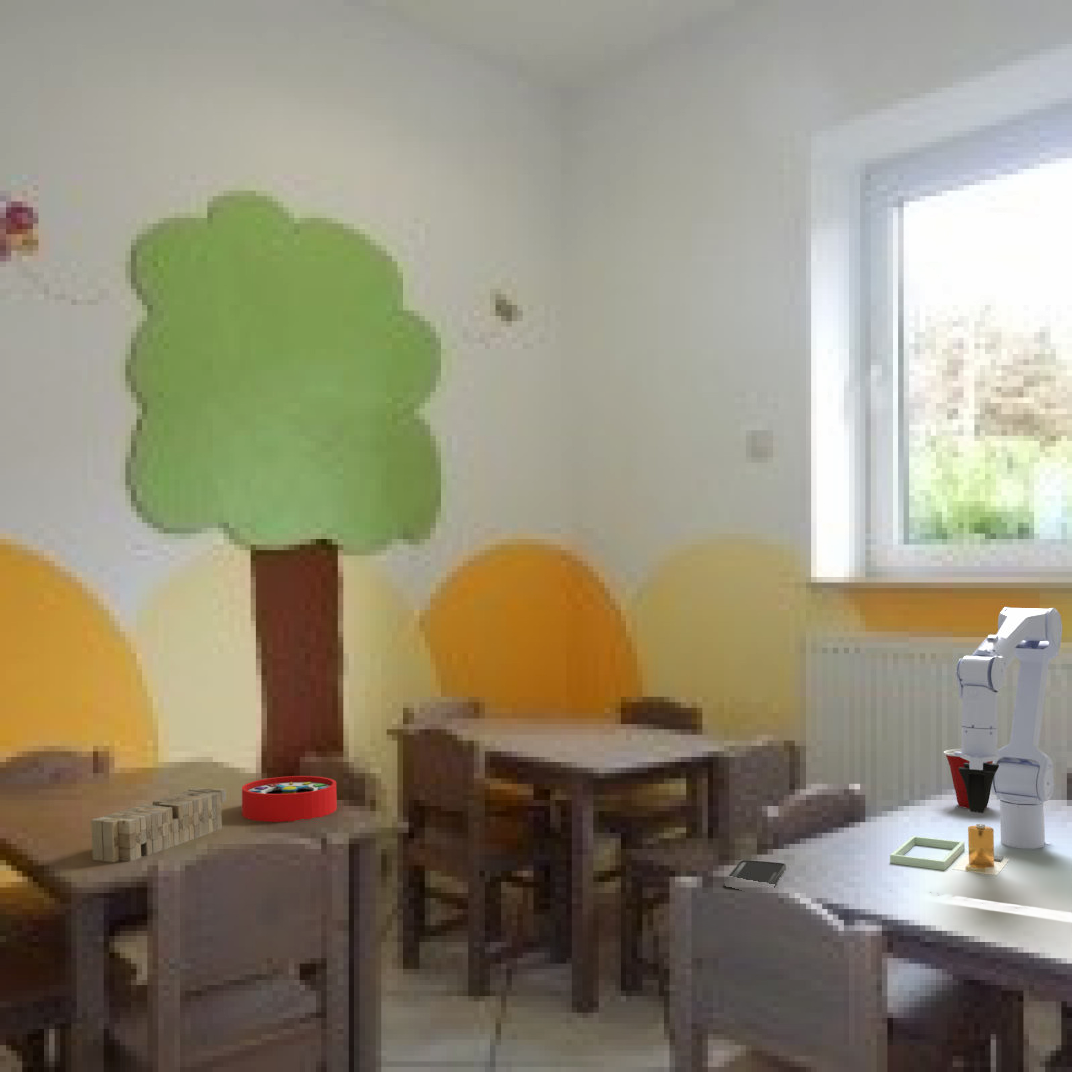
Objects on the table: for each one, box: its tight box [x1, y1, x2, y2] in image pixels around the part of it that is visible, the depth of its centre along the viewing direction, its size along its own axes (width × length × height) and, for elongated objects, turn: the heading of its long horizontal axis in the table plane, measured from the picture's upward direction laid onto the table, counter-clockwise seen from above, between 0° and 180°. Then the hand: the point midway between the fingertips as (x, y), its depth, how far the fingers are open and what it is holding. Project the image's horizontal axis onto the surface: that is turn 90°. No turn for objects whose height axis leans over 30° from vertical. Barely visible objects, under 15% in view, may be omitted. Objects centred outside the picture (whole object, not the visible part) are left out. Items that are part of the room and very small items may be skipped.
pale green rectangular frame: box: [889, 835, 965, 871], centre depth 197 cm, size 15×9×2 cm, turn 148°
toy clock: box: [241, 775, 338, 823], centre depth 245 cm, size 20×6×20 cm
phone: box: [728, 859, 787, 885], centre depth 190 cm, size 8×1×15 cm
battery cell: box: [967, 823, 995, 867], centre depth 191 cm, size 4×4×7 cm
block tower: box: [90, 787, 227, 863], centre depth 219 cm, size 8×8×29 cm
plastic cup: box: [943, 748, 993, 809], centre depth 240 cm, size 11×11×12 cm
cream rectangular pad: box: [952, 853, 1010, 876], centre depth 191 cm, size 11×7×2 cm, turn 148°
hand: (978, 809), depth 190 cm, fingers open, 7 cm apart
